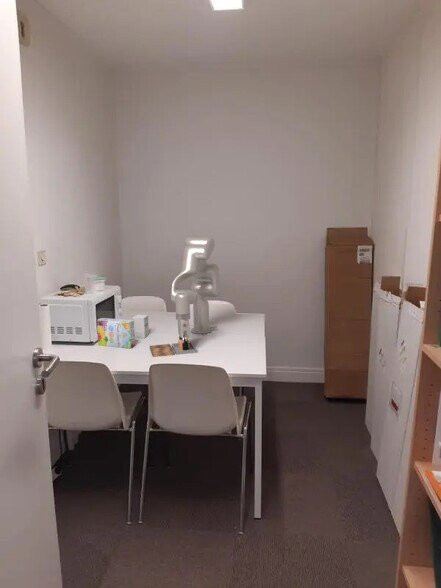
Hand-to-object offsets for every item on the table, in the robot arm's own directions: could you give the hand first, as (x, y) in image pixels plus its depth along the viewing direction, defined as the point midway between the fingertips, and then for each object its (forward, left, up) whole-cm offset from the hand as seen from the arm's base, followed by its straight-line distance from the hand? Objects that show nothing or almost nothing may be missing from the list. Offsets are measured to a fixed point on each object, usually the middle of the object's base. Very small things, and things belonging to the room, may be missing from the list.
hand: (183, 347), depth 240 cm
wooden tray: (+12, 0, -2) cm, 12 cm away
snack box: (+34, -21, -2) cm, 40 cm away
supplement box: (+19, -35, -2) cm, 40 cm away
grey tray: (0, 0, -2) cm, 2 cm away
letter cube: (0, 0, -1) cm, 1 cm away
